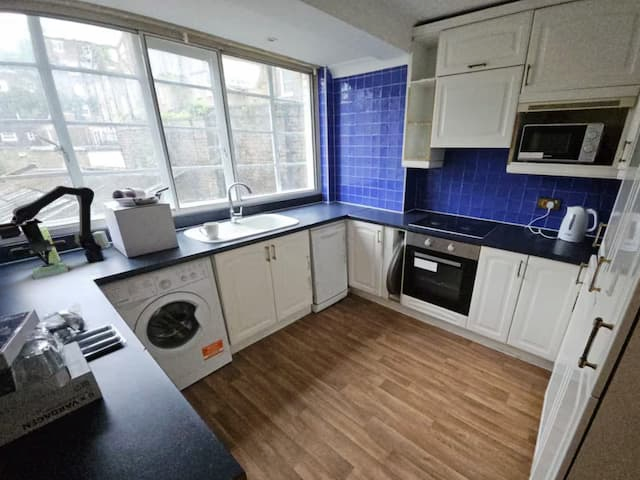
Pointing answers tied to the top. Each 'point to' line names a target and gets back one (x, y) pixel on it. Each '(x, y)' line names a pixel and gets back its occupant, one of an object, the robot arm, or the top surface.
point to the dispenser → (49, 270)
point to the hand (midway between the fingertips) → (47, 264)
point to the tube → (53, 254)
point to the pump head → (47, 265)
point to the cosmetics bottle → (101, 239)
